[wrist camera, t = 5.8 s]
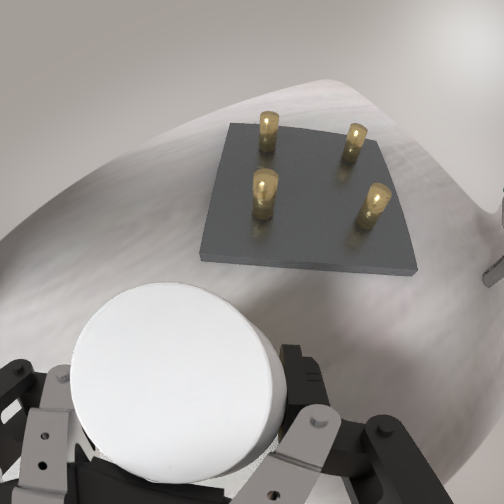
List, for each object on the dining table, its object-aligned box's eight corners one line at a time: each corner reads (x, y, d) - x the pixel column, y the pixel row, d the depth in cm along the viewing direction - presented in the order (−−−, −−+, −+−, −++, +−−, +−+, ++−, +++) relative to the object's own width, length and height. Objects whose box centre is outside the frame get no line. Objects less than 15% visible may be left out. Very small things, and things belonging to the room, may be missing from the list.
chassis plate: (201, 260, 19) (191, 221, 15) (230, 130, 27) (229, 94, 24) (411, 276, 19) (442, 245, 15) (373, 147, 27) (385, 115, 23)
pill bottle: (238, 462, 12) (228, 555, 3) (145, 412, 13) (14, 401, 4) (284, 374, 15) (353, 319, 6) (193, 330, 16) (130, 218, 7)
